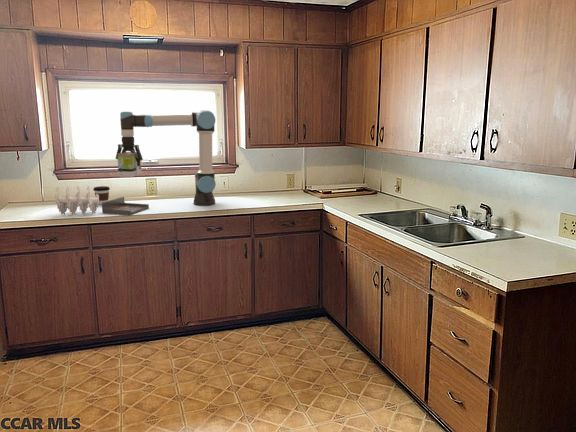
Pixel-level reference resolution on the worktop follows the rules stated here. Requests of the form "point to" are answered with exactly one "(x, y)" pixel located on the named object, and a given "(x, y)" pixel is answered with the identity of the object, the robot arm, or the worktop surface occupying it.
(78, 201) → the grey translucent row part
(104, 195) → the coffee cup
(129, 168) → the tea box
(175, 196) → the worktop surface
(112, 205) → the tray
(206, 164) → the robot arm
